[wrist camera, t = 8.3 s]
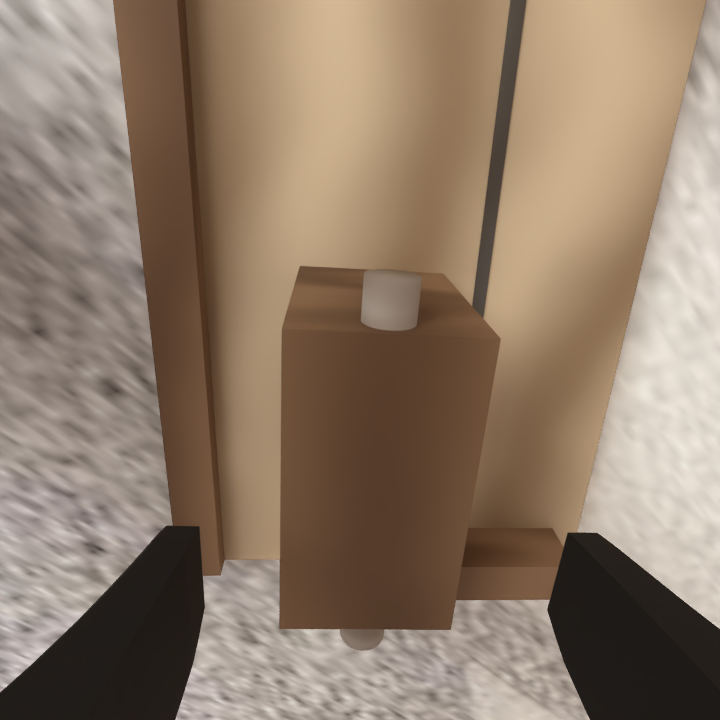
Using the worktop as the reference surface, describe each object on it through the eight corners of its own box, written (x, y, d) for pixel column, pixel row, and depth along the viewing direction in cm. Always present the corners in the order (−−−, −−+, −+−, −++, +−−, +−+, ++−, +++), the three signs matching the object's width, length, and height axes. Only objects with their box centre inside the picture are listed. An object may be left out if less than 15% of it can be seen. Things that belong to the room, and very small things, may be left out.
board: (192, 537, 21) (169, 602, 18) (90, -504, 11) (-2, -751, 8) (558, 537, 22) (593, 599, 19) (777, -425, 12) (927, -619, 9)
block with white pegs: (294, 509, 19) (279, 657, 14) (300, 232, 15) (282, 278, 10) (413, 512, 19) (445, 657, 14) (447, 240, 16) (509, 290, 10)
